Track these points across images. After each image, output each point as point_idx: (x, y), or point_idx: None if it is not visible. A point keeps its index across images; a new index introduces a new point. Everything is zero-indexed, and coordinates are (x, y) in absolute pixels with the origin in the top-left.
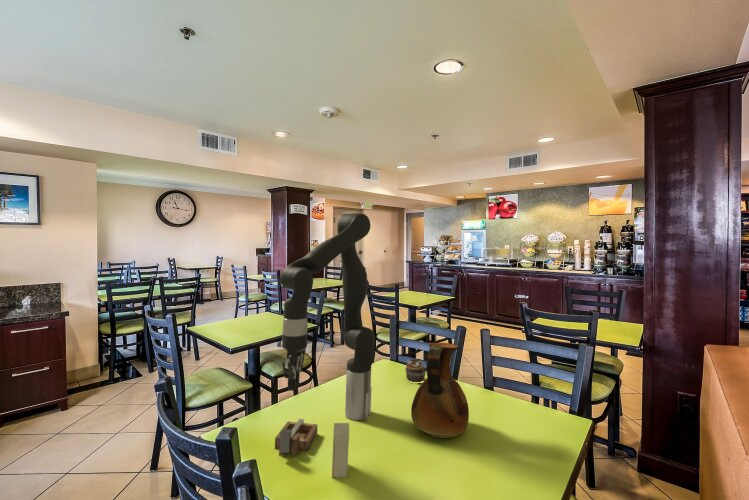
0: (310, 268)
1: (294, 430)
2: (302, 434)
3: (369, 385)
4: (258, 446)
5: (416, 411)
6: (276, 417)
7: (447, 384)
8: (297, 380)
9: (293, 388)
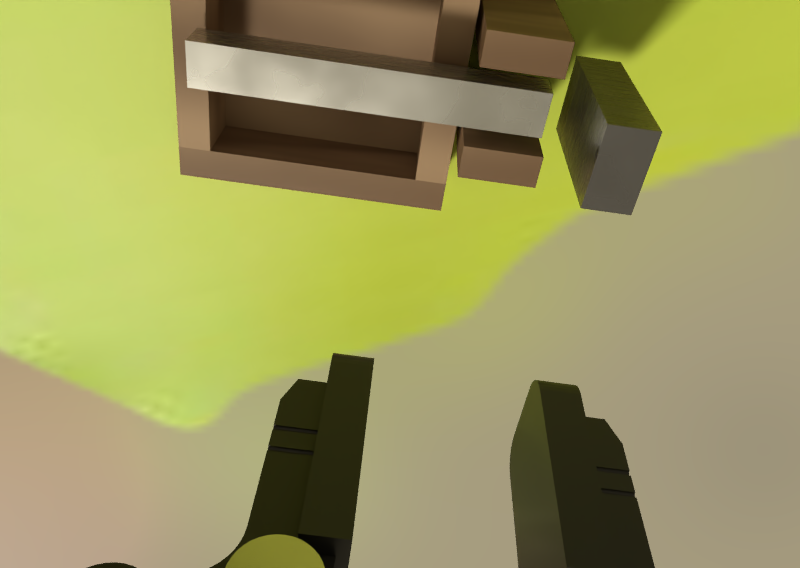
0: None
1: (403, 90)
2: (263, 7)
3: None
4: (421, 272)
5: None
6: (47, 254)
7: None
8: (362, 444)
9: (578, 417)
